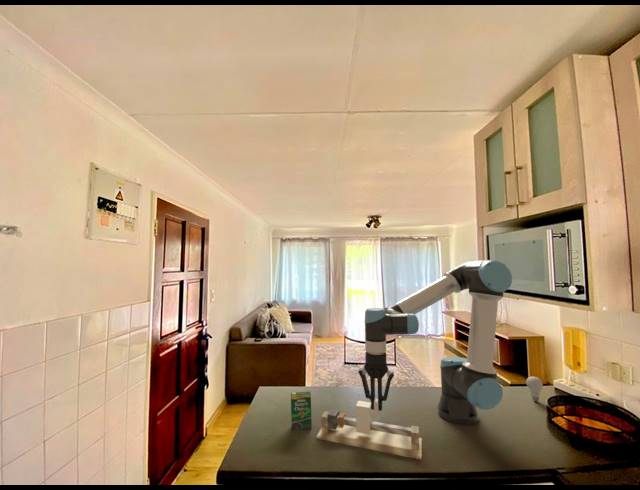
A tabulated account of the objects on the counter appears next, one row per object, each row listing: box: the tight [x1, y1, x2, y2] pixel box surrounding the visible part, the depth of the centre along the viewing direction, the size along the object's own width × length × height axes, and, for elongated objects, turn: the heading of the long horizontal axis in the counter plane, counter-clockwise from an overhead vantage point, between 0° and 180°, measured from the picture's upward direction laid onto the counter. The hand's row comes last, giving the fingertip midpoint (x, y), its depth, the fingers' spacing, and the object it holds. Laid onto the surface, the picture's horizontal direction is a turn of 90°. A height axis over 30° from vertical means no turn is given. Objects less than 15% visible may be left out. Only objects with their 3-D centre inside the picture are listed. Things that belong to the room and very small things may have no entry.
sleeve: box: [355, 400, 373, 435], centre depth 106 cm, size 5×4×9 cm
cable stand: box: [316, 408, 423, 461], centre depth 105 cm, size 36×11×7 cm, turn 70°
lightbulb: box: [525, 376, 544, 402], centre depth 133 cm, size 6×6×11 cm
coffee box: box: [290, 391, 313, 431], centre depth 113 cm, size 8×3×13 cm, turn 93°
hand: (376, 419), depth 104 cm, fingers closed
